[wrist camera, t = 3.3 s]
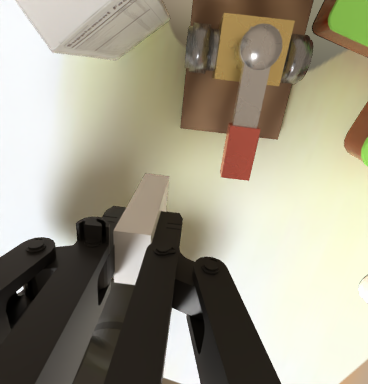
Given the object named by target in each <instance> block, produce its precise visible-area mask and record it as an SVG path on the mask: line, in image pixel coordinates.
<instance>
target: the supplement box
mask: <svg viewBox="0 0 368 384" xmlns="http://www.w3.org/2000/svg"><path fill="white" fill-rule="evenodd" d="M15 1H16V2H17V4H18V5H19V7H20V8H21V9H22V11H23V12H24V14H25V15H26V16H27V18H28V19H29V21H30V22H31V23H32V25H33V26H34V28H35V29H36V30H37V32H38V33H39V35H40V36H41V37H42V39H43V40H44V42H45V43H46V44H47V46H48V47H49V49H50V50H51V51H52V52H53V53H61V54H70V55H78V56H87V57H94V58H101V59H109V60H117V59H119V58H120V57H121V56H123V55H124V54H126V53H127V52H128V51H130V50H131V49H132V48H134V47H135V46H136V45H137V44H139V43H140V42H141V41H143V40H144V39H145V38H147V37H148V36H149V35H151V34H152V33H153V32H155V31H156V30H157V29H159V28H160V27H161V26H163V25H164V24H165V23H166V22H168V21H169V20H170V16H169V13H168V11H167V9H166V7H165V5H164V3H163V1H162V0H15Z"/></svg>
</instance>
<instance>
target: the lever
mask: <svg viewBox="0 0 368 384" xmlns="http://www.w3.org/2000/svg"><path fill="white" fill-rule="evenodd" d="M281 51H282V37H281V34H280V32H279V31H278V29H276V28H275V27H274V26H272V25H270V24H264V23H263V24H258V25H256V26H254V27H250V28H249V30H248V31H247V32H246V33H245V34H244V36H243V37H242V39H241V41H240V44H239V49H238V53H239V58H240V61H241V62H242V69H241V75H240V80H239V86H238V92H237V97H236V103H235V108H234V114H233V120H232V123H229V124H228V129H227V135H226V141H225V147H224V152H223V158H222V164H221V170H220V173H221V177H223V178H232V179H240V180H248V181H249V178H250V174H251V169H252V165H253V161H254V156H255V152H256V147H257V143H258V139H259V134H260V130H261V129H260V128H259V127H258V121H259V117H260V112H261V108H262V103H263V99H264V94H265V90H266V85H267V80H268V76H269V71H270V67H271V66H272V65H273V64H274V63H275V62H276V61H277V59H278V58H279V56H280V54H281Z"/></svg>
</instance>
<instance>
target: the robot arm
mask: <svg viewBox="0 0 368 384" xmlns="http://www.w3.org/2000/svg"><path fill="white" fill-rule="evenodd" d="M168 185H169V176H163V175H155V174H147V173H145V175H144V177H143V178H142V180H141V182H140V184H139V186H138V187H137V189H136V191H135V193H134V195H133V196H132V198H131V200H130V202H129V204H128V205H127V207H126V208H125V207H117V206H113V207H111V208H110V209H108V210H106V212H105V213H104V215H103V217H102V218H101V217H88V218H84V219H82V220H80V221H78V222H77V223H76V229H77V242H76V243H75V244H74V245H72V246H63V247H55V243H54V241H53V240H51V239H49V238H44V237H41V238H34V239H30V240H27V241H25V242H23V243H21V244H20V245H18V246H17V247H15V248H14V249H12V250H11V251H9V252H8V253H6V254H5V255H3V256H2V257H0V384H162V379H163V371H164V364H165V356H166V348H167V341H168V333H169V325H170V317H171V311H172V308H174V309H176V310H179V311H181V312H183V313H185V314H187V322H188V327H189V331H190V336H191V341H192V345H193V350H194V355H195V359H196V364H197V369H198V373H199V378H200V383H201V384H281V382H280V380H279V378H278V376H277V374H276V371H275V369H274V367H273V365H272V363H271V361H270V359H269V356H268V354H267V352H266V350H265V348H264V346H263V344H262V341H261V339H260V337H259V335H258V333H257V331H256V329H255V326H254V324H253V322H252V320H251V318H250V316H249V314H248V311H247V309H246V307H245V305H244V303H243V301H242V299H241V296H240V294H239V292H238V290H237V288H236V286H235V284H234V281H233V279H232V277H231V275H230V273H229V271H228V268H227V267H226V265H225V264H224V263H223V262H222V261H220V260H219V259H216V258H213V257H202V258H200V259H198V260H196V262H194V261H191V260H189V259H187V258H185V257H184V256H183V255H182V254H181V253H180V250H179V246H180V238H181V229H182V221H183V218H182V217H181V215H180V213H172V212H166V208H167V197H168ZM113 274H114V279H112V277H113ZM111 279H112V280H111ZM22 286H23V287H24V290H22V291H21V292H20V293H18V294H17V293H16V291H17V290H19V289H20V288H21V287H22Z"/></svg>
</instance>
